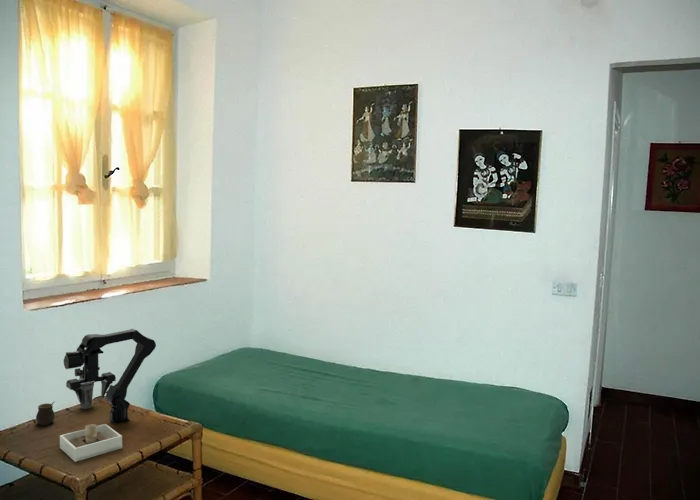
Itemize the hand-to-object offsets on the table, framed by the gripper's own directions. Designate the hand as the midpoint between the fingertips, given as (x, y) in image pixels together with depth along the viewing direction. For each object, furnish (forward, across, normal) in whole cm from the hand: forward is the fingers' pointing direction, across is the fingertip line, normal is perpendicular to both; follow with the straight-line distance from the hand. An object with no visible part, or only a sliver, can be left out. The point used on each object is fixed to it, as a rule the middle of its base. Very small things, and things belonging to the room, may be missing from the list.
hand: (91, 400), depth 248 cm
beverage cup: (+12, -7, -25) cm, 29 cm away
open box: (+12, +8, +20) cm, 25 cm away
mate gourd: (+12, +13, -17) cm, 25 cm away
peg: (+11, +8, +20) cm, 24 cm away
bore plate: (+11, +8, +20) cm, 24 cm away
